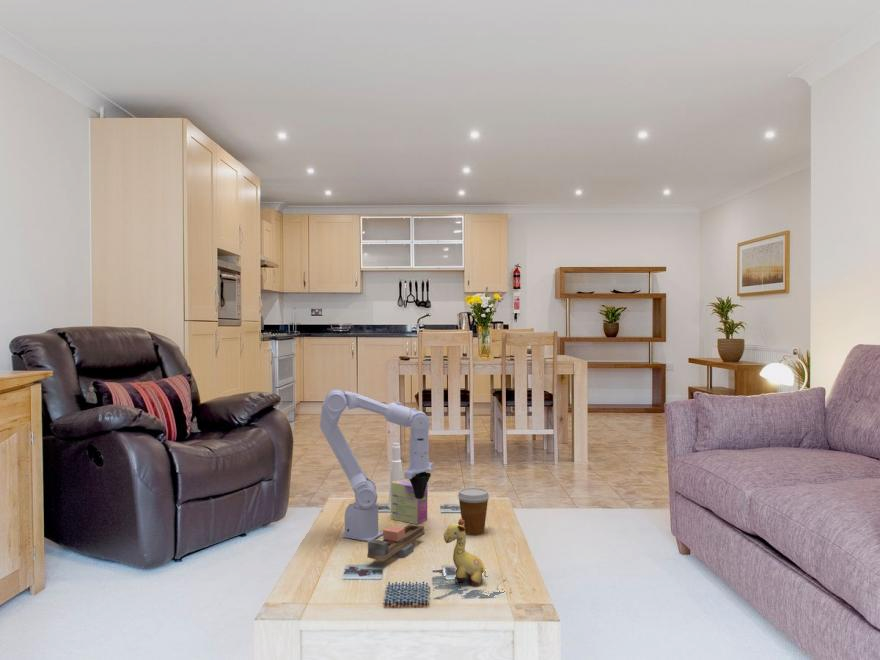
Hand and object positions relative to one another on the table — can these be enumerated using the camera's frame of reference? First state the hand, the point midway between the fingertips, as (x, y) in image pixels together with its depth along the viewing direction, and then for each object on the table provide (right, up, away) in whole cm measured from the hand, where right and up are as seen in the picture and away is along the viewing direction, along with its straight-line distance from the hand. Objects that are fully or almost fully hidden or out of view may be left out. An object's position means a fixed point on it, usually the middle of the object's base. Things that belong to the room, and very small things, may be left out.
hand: (419, 498), depth 179 cm
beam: (-5, -10, -16) cm, 20 cm away
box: (-4, -11, +13) cm, 17 cm away
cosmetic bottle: (-9, -11, +25) cm, 29 cm away
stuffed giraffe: (+13, -11, -36) cm, 40 cm away
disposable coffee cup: (+16, -11, +1) cm, 19 cm away
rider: (-6, -7, -17) cm, 20 cm away
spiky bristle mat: (-1, -11, -43) cm, 45 cm away
